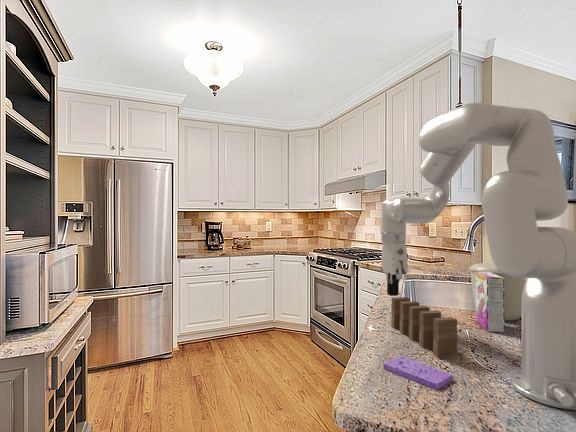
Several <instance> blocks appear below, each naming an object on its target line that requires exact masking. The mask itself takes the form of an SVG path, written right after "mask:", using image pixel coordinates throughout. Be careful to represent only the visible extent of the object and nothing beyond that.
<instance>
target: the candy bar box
mask: <svg viewBox="0 0 576 432" xmlns="http://www.w3.org/2000/svg"><path fill="white" fill-rule="evenodd" d="M475 273H476V309H475V322H476V323H477V324H479V325H480V326H481V327H482V328H483V329H484V330H485V331H487V332H488V333H489V332H490V333H502V334H503V333H504V334H505V333H506V331H505V330H506V329H505V319H504V278H503V277H500V276H498V275H496V274H493V273H491V272H475Z"/></svg>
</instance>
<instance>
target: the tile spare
mask: <svg viewBox="0 0 576 432" xmlns="http://www.w3.org/2000/svg"><path fill="white" fill-rule="evenodd" d="M432 352H433V353H432V354H433V355H432V356H434V357H435V358H437V359H444V358H445V359H448V358H458V319H456V318H455V317H450V316H449V317H441V318H433V348H432Z"/></svg>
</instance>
